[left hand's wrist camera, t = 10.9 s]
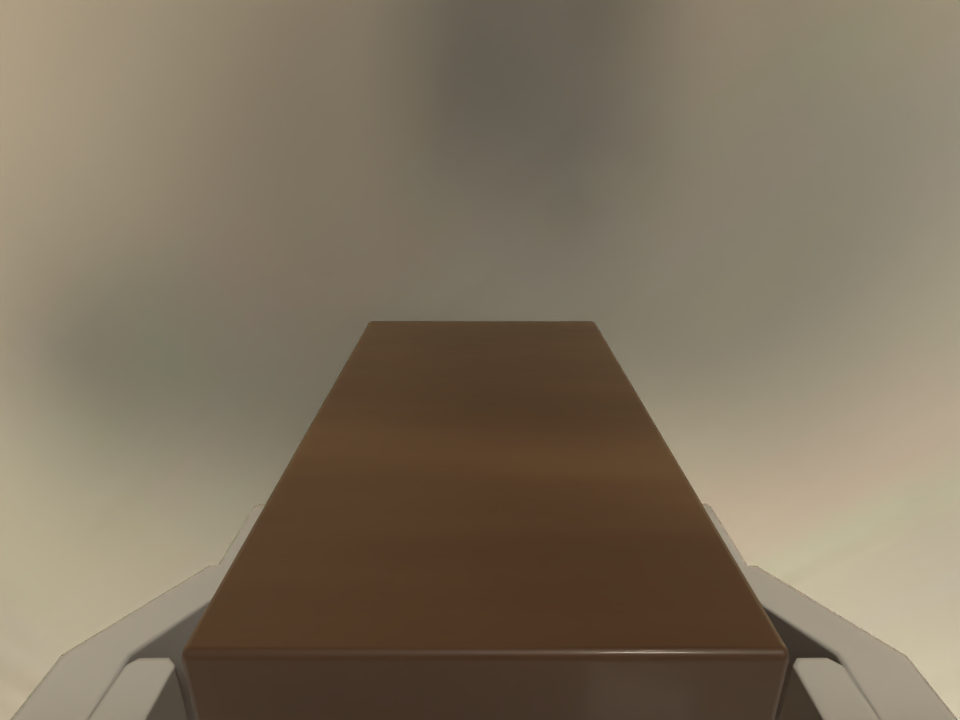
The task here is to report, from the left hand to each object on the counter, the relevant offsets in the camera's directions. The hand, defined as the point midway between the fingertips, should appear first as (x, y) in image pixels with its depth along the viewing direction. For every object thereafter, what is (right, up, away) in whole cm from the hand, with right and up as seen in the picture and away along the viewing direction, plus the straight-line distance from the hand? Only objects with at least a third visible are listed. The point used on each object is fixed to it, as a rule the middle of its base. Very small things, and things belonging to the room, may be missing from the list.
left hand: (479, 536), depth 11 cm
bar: (0, -8, +6) cm, 10 cm away
